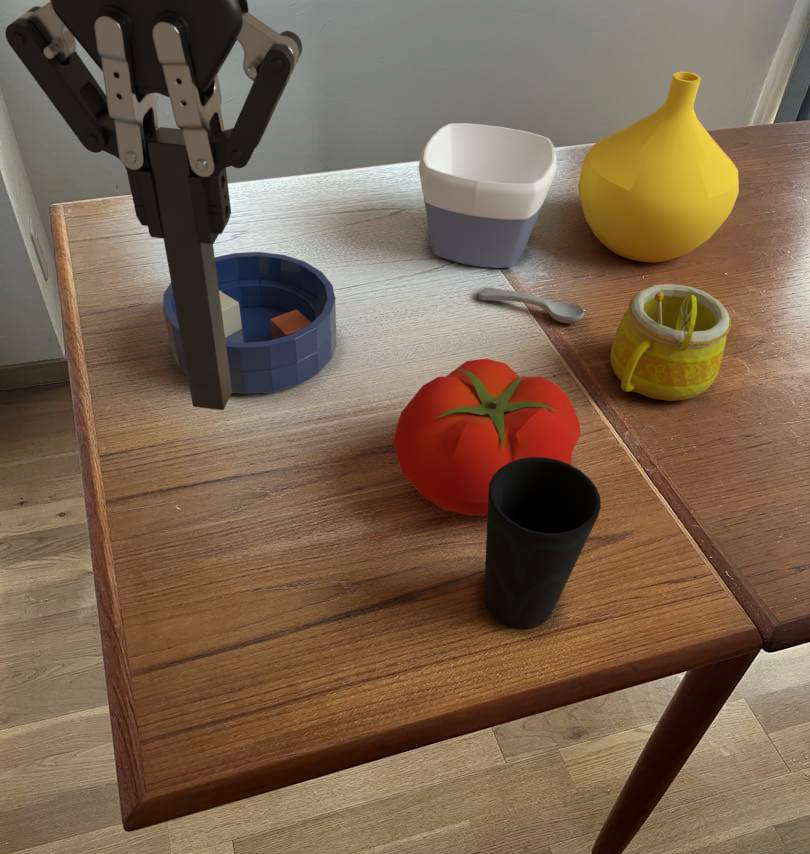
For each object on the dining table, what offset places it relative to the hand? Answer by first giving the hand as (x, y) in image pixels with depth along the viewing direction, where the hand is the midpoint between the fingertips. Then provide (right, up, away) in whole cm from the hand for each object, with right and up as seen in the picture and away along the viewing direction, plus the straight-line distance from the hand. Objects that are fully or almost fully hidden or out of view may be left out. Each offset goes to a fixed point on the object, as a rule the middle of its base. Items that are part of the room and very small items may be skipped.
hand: (187, 232), depth 44 cm
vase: (+41, +21, +59) cm, 75 cm away
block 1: (-8, +6, +42) cm, 43 cm away
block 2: (0, +3, +40) cm, 41 cm away
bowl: (+21, +20, +57) cm, 64 cm away
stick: (-1, -8, +8) cm, 11 cm away
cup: (+21, -21, +21) cm, 37 cm away
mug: (+37, 0, +41) cm, 55 cm away
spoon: (+26, +9, +48) cm, 55 cm away
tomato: (+19, -11, +30) cm, 37 cm away
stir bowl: (-4, +4, +41) cm, 42 cm away
